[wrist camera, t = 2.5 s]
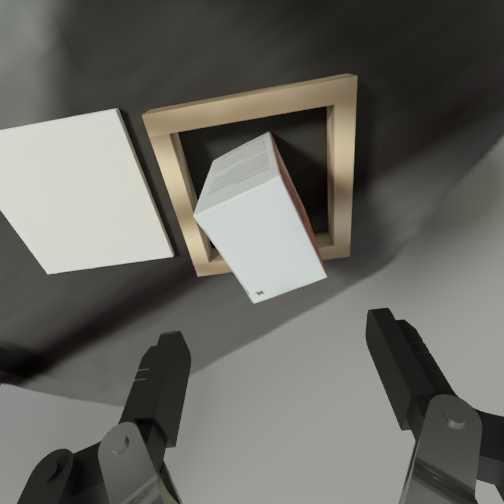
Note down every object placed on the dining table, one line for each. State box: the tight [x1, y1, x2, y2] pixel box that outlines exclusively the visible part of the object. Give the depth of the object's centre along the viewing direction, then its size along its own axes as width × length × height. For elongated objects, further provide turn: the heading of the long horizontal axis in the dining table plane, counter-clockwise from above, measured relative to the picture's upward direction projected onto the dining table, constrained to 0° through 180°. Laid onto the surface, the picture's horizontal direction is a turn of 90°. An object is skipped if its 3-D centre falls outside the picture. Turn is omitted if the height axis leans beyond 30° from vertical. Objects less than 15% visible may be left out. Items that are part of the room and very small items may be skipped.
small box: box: [193, 132, 328, 304], centre depth 22 cm, size 8×6×10 cm
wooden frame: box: [142, 73, 358, 276], centre depth 25 cm, size 15×15×2 cm
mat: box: [0, 108, 174, 274], centre depth 27 cm, size 14×14×1 cm
